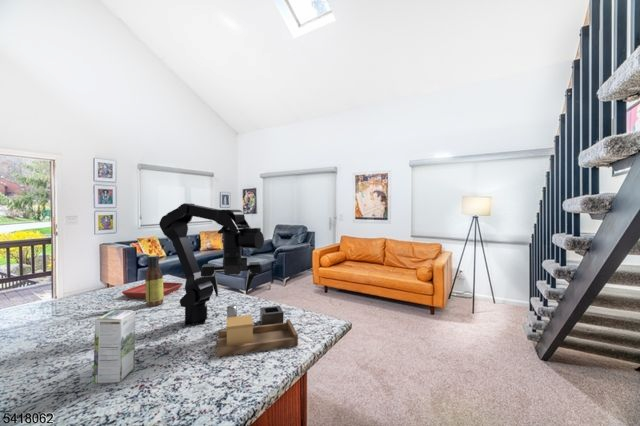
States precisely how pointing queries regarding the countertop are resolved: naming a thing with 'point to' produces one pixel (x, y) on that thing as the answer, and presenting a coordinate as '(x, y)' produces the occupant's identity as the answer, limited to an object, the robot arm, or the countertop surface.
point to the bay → (260, 339)
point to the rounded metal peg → (231, 311)
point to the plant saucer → (141, 290)
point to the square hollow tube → (271, 315)
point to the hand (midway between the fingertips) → (231, 294)
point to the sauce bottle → (154, 282)
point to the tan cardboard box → (239, 330)
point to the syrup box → (114, 346)
